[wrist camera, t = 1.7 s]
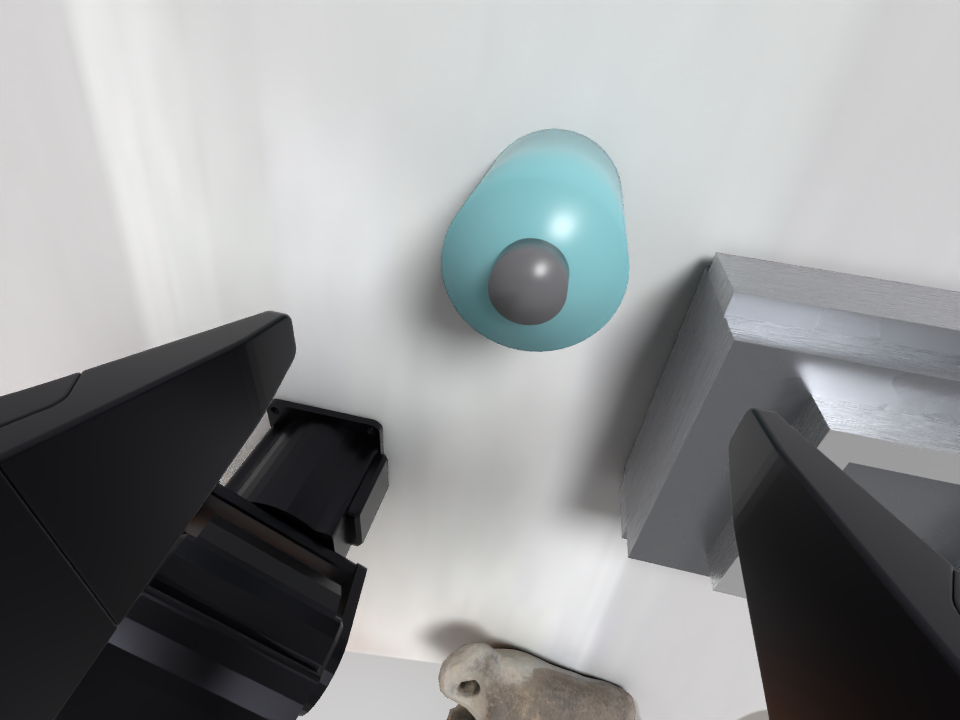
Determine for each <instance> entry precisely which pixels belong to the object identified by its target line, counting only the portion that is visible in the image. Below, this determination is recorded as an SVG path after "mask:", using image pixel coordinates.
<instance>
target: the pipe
mask: <svg viewBox="0 0 960 720" xmlns="http://www.w3.org/2000/svg"><path fill="white" fill-rule="evenodd" d="M439 686H440V691H441V692H442V693H443V694H444V695H445V696H446V697H447V698H449V699H451V700H453V701H455V702H457V703H458V705H457V706H456V707H455V708H453V709H450V712H449V716H448V718H447V720H635V713H636V711H635V705H634V701H633V698H632V696H631V695H630V694H629V693H627V692H626V691H625V690H624V689H622V688H620V687H617V686H615V685H613V684H611V683H609V682H606V681H602V680H598V679H592V678H588V677H584V676H582V675H579V674H577V673H574V672H572V671H569V670H566V669H562V668H559V667H557V666H554V665H551V664H549V663H547V662H545V661H543V660H541V659H539V658H537V657H534V656H532V655H530V654H527V653H525V652H522V651H518V650H512V649H493V648H492V647H491V646H489V645H488V644H485V643H471V644H467V645H464V646H462V647H461V648H459V649H457V650H456V651H455V652H453V653H452V654H451V655H450V656H449V657H447V658H446V659H445V660H444V662H443V664H442V666H441V669H440V674H439Z"/></svg>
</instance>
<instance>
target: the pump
mask: <svg viewBox="0 0 960 720" xmlns="http://www.w3.org/2000/svg"><path fill="white" fill-rule="evenodd" d="M441 268H442V275H443V281H444V284H445V288H446V291H447V293H448V295H449V298H450V300H451V302H452V303H453V305H454V307H455V308H456V310H457V311H458V312H459V314H460V315H461V316H462V318H463V319H464V320H465V321H466V322H467V323H468V324H469V325H470V326H471V327H473V328H474V329H475V330H476V331H477V332H479V333H480V334H482V335H483V336H485V337H486V338H488V339H490V340H492V341H494V342H496V343H498V344H501V345H504V346H506V347H510V348H514V349H518V350H524V351H538V352H542V351H553V350H558V349H563V348H566V347H569V346H572V345H575V344H577V343H579V342H581V341H584V340H585V339H587V338H589V337H590V336H592V335H593V334H595V333H596V332H597V331H598V330H600V329H601V328H602V327H603V326H604V325H605V324H606V323H607V322H608V321H609V320H610V319H611V317H612V316H613V315H614V313H615V312H616V310H617V309H618V307H619V305H620V303H621V301H622V299H623V296H624V294H625V291H626V287H627V283H628V277H629V257H628V247H627V237H626V227H625V217H624V207H623V197H622V188H621V182H620V178H619V175H618V172H617V169H616V167H615V165H614V164H613V162H612V160H611V159H610V157H609V156H608V155H607V153H606V152H605V151H604V150H603V149H602V148H601V147H600V146H599V145H598V144H596V143H595V142H594V141H592V140H591V139H589V138H587V137H585V136H584V135H581V134H579V133H576V132H573V131H568V130H563V129H546V130H541V131H536V132H533V133H530V134H527V135H525V136H523V137H521V138H519V139H517V140H516V141H515V142H513V143H512V144H510V145H509V146H508V147H507V148H506V149H505V150H504V151H503V152H502V153H501V154H500V156H499V157H498V158H497V159H496V161H495V162H494V164H493V165H492V166H491V168H490V169H489V170H488V172H487V173H486V175H485V176H484V177H483V179H482V180H481V182H480V183H479V184H478V186H477V187H476V188H475V190H474V191H473V193H472V194H471V195H470V197H469V198H468V200H467V201H466V202H465V204H464V205H463V206H462V208H461V209H460V211H459V212H458V213H457V215H456V216H455V218H454V220H453V221H452V223H451V225H450V227H449V229H448V231H447V234H446V236H445V240H444V244H443V248H442V256H441Z"/></svg>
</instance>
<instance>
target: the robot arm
mask: <svg viewBox="0 0 960 720" xmlns="http://www.w3.org/2000/svg"><path fill="white" fill-rule="evenodd" d="M295 354H296V344H295V338H294V332H293V326H292V321H291V318H290V317H289V316H288V315H287V314H284V313H279V312H274V311H266V312H263V313H260V314H257V315H254V316H251V317H248V318H245V319H241V320H238V321H235V322H232V323H229V324H226V325H223V326H220V327H217V328H214V329H211V330H208V331H205V332H201V333H198V334H195V335H192V336H189V337H186V338H183V339H180V340H177V341H174V342H171V343H168V344H165V345H161V346H158V347H155V348H152V349H149V350H146V351H143V352H140V353H137V354H134V355H131V356H128V357H125V358H121V359H118V360H115V361H112V362H109V363H106V364H103V365H100V366H97V367H94V368H91V369H88V370H85V371H83V372H82V374H81V373H75V374H72V375H69V376H66V377H63V378H60V379H57V380H53V381H50V382H47V383H44V384H41V385H37V386H34V387H31V388H28V389H25V390H21V391H18V392H15V393H11V394H8V395H4V396H0V720H296V719H297V717H298V716H303V715H305V714H306V713H308V712H309V711H310V710H311V708H312V707H313V706H314V705H315V704H316V703H317V701H318V700H319V699H320V697H321V696H322V694H323V693H324V691H325V690H326V688H327V686H328V685H329V683H330V681H331V679H332V678H333V676H334V674H335V671H336V670H337V668H338V665H339V663H340V661H341V659H342V656H343V654H344V651H345V648H346V645H347V642H348V639H349V635H350V631H351V627H352V624H353V620H354V616H355V613H356V609H357V605H358V602H359V598H360V594H361V590H362V587H363V583H364V579H365V576H366V572H367V568H365V567H364V566H362V565H360V564H359V563H357V564H355V563H353V562H351V561H350V560H348V559H346V558H345V557H346V555H347V553H348V551H349V548H350V546H351V545H354V546H359V545H360V544H362V543H363V542H364V539H365V537H366V535H367V533H368V531H369V528H370V526H371V524H372V522H373V520H374V517H375V515H376V513H377V511H378V509H379V506H380V504H381V502H382V500H383V498H384V495H385V493H386V491H387V489H388V485H389V484H388V459H387V457H386V455H385V454H384V452H383V428H382V425H381V424H380V423H379V422H377V421H375V420H372V419H367V418H363V417H358V416H353V415H349V414H344V413H340V412H335V411H330V410H326V409H321V408H316V407H312V406H307V405H303V404H298V403H293V402H289V401H284V400H280V399H273V397H274V395H275V394H276V392H277V390H278V388H279V386H280V384H281V382H282V380H283V379H284V377H285V375H286V373H287V371H288V369H289V367H290V365H291V364H292V362H293V360H294V357H295ZM272 399H273V400H272ZM266 410H267V413H268V417H269V421H270V426H271V428H270V430H269V431H268V432H267V433H266V435H265V436H264V437H263V438H262V440H261V441H260V442H259V443H258V445H257V446H256V447H255V448H254V450H253V451H252V452H251V453H250V455H249V456H248V457H247V458H246V460H245V461H244V462H243V463H242V465H241V466H240V467H239V468H238V470H237V471H236V472H235V473H234V475H233V476H232V477H231V479H230V480H229V481H228V482H227V484H226V485H225V486H223V485H221V484H220V483H219V482H220V481H219V480H220V478H221V477H222V476H223V474H224V473H225V471H226V470H227V468H228V467H229V465H230V464H231V463H232V461H233V460H234V458H235V457H236V455H237V454H238V452H239V451H240V449H241V448H242V447H243V445H244V444H245V442H246V441H247V439H248V438H249V436H250V435H251V434H252V432H253V431H254V429H255V428H256V426H257V425H258V423H259V422H260V420H261V419H262V417H263V415H264V414H265V412H266ZM371 428H372V429H371ZM728 456H729V473H730V490H731V507H732V519H733V527H734V533H735V539H736V544H737V550H738V555H739V560H740V566H741V571H742V576H743V582H744V587H745V592H746V598H747V603H748V608H749V614H750V619H751V624H752V630H753V635H754V640H755V646H756V651H757V656H758V662H759V667H760V672H761V678H762V683H763V688H764V694H765V699H766V704H767V710H768V715H769V720H960V571H958V570H953V566H952V565H951V564H950V563H949V562H948V561H947V560H945V559H944V558H943V557H942V556H941V555H940V554H939V553H937V552H936V551H935V550H934V549H933V548H932V547H930V546H929V545H928V544H927V543H926V542H925V541H924V540H922V539H921V538H920V537H919V536H918V535H917V534H915V533H914V532H913V531H912V530H911V529H910V528H909V527H907V526H906V525H905V524H904V523H903V522H902V521H900V520H899V519H898V518H897V517H896V516H895V515H894V514H892V513H891V512H890V511H889V510H888V509H887V508H885V507H884V506H883V505H882V504H881V503H880V502H879V501H877V500H876V499H875V498H874V497H873V496H872V495H870V494H869V493H868V492H867V491H866V490H865V489H864V488H862V487H861V486H860V485H859V484H858V483H857V482H855V481H854V480H853V479H852V478H851V477H850V476H849V475H847V474H846V473H845V472H844V471H843V470H842V469H840V468H839V467H838V466H837V465H836V464H835V463H833V462H832V461H831V460H830V459H829V458H828V457H827V456H825V455H824V454H823V453H822V452H821V451H820V450H818V449H817V448H816V447H815V446H814V445H813V444H812V443H810V442H809V441H808V440H807V439H806V438H805V437H803V436H802V435H801V434H800V433H799V432H798V431H797V430H795V429H794V428H793V427H792V426H791V425H790V424H788V423H787V422H786V421H785V420H784V419H783V418H782V417H780V416H779V415H778V414H777V413H776V412H773V411H769V410H764V409H759V408H750V409H748V410H747V411H746V413H745V414H744V416H743V418H742V419H741V421H740V423H739V425H738V426H737V428H736V430H735V431H734V433H733V435H732V437H731V439H730V442H729V446H728Z"/></svg>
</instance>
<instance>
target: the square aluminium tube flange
mask: <svg viewBox="0 0 960 720" xmlns="http://www.w3.org/2000/svg"><path fill="white" fill-rule="evenodd" d="M750 408H759V409H764V410H769V411H773V412H776V413H777V414H778V415H779V416H780V417H782V418H783V419H784V420H785V421H786V422H787V423H788V424H790V425H791V426H792V427H793V428H794V429H795V430H797V431H798V432H799V433H800V434H801V435H802V436H803V437H805V438H806V439H807V440H808V441H809V442H810V443H812V444H813V445H814V446H815V447H816V448H817V449H818V450H820V451H821V452H822V453H823V454H824V455H825V456H827V457H828V458H829V459H830V460H831V461H832V462H833V463H835V464H836V465H837V466H838V467H839V468H840V469H842V470H843V471H844V472H845V473H846V474H847V475H849V476H850V477H851V478H852V479H853V480H854V481H855V482H857V483H858V484H859V485H860V486H861V487H862V488H864V489H865V490H866V491H867V492H868V493H869V494H870V495H872V496H873V497H874V498H875V499H876V500H877V501H879V502H880V503H881V504H882V505H883V506H884V507H885V508H887V509H888V510H889V511H890V512H891V513H892V514H894V515H895V516H896V517H897V518H898V519H899V520H900V521H902V522H903V523H904V524H905V525H906V526H907V527H909V528H910V529H911V530H912V531H913V532H914V533H915V534H917V535H918V536H919V537H920V538H921V539H922V540H924V541H925V542H926V543H927V544H928V545H929V546H930V547H932V548H933V549H934V550H935V551H936V552H937V553H939V554H940V555H941V556H942V557H943V558H944V559H945V560H947V561H948V562H949V563H950V564H951V565H952V566H953V570H958V571H960V292H955V291H949V290H943V289H937V288H931V287H924V286H918V285H912V284H906V283H900V282H894V281H888V280H882V279H876V278H870V277H863V276H857V275H851V274H845V273H839V272H833V271H827V270H821V269H815V268H809V267H803V266H796V265H790V264H784V263H778V262H772V261H766V260H760V259H754V258H748V257H742V256H735V255H729V254H723V253H717V252H716V254H715V256H714V259H713V261H712V264H711V266H710V268H707V267H705V269H704V272H703V274H702V277H701V279H700V282H699V284H698V287H697V289H696V292H695V294H694V297H693V299H692V302H691V304H690V307H689V309H688V312H687V314H686V317H685V319H684V322H683V324H682V326H681V329H680V331H679V334H678V336H677V339H676V341H675V344H674V346H673V349H672V351H671V354H670V356H669V359H668V361H667V364H666V366H665V369H664V371H663V374H662V376H661V379H660V381H659V384H658V386H657V389H656V391H655V394H654V396H653V399H652V401H651V403H650V406H649V408H648V411H647V413H646V416H645V418H644V421H643V423H642V426H641V428H640V431H639V433H638V436H637V438H636V441H635V443H634V446H633V448H632V451H631V453H630V456H629V458H628V461H627V463H626V466H625V468H624V479H623V481H622V484H621V486H620V495H621V524H622V538H624V539H627V545H628V558H632V559H637V560H641V561H645V562H649V563H654V564H658V565H662V566H666V567H671V568H675V569H679V570H683V571H688V572H692V573H696V574H700V575H705V576H709V577H711V582H712V588H713V591H717V592H722V593H726V594H730V595H734V596H738V597H743V598H746V592H745V587H744V582H743V576H742V571H741V566H740V560H739V555H738V550H737V544H736V539H735V533H734V527H733V519H732V507H731V490H730V473H729V456H728V446H729V442H730V439H731V437H732V435H733V433H734V431H735V430H736V428H737V426H738V425H739V423H740V421H741V419H742V418H743V416H744V414H745V413H746V411H747V410H748V409H750Z"/></svg>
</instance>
